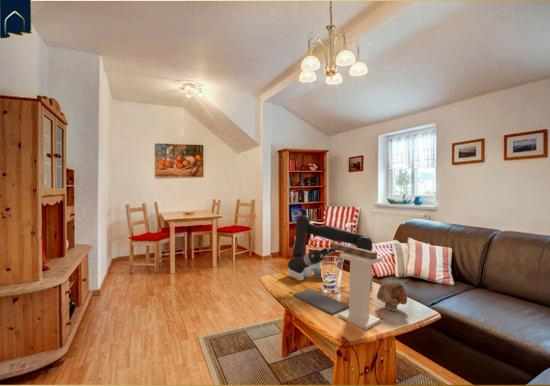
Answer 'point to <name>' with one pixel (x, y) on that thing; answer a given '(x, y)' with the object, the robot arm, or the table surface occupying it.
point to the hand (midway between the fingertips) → (332, 248)
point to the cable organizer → (300, 275)
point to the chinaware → (316, 270)
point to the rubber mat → (321, 301)
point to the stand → (359, 291)
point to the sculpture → (392, 294)
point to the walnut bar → (354, 250)
